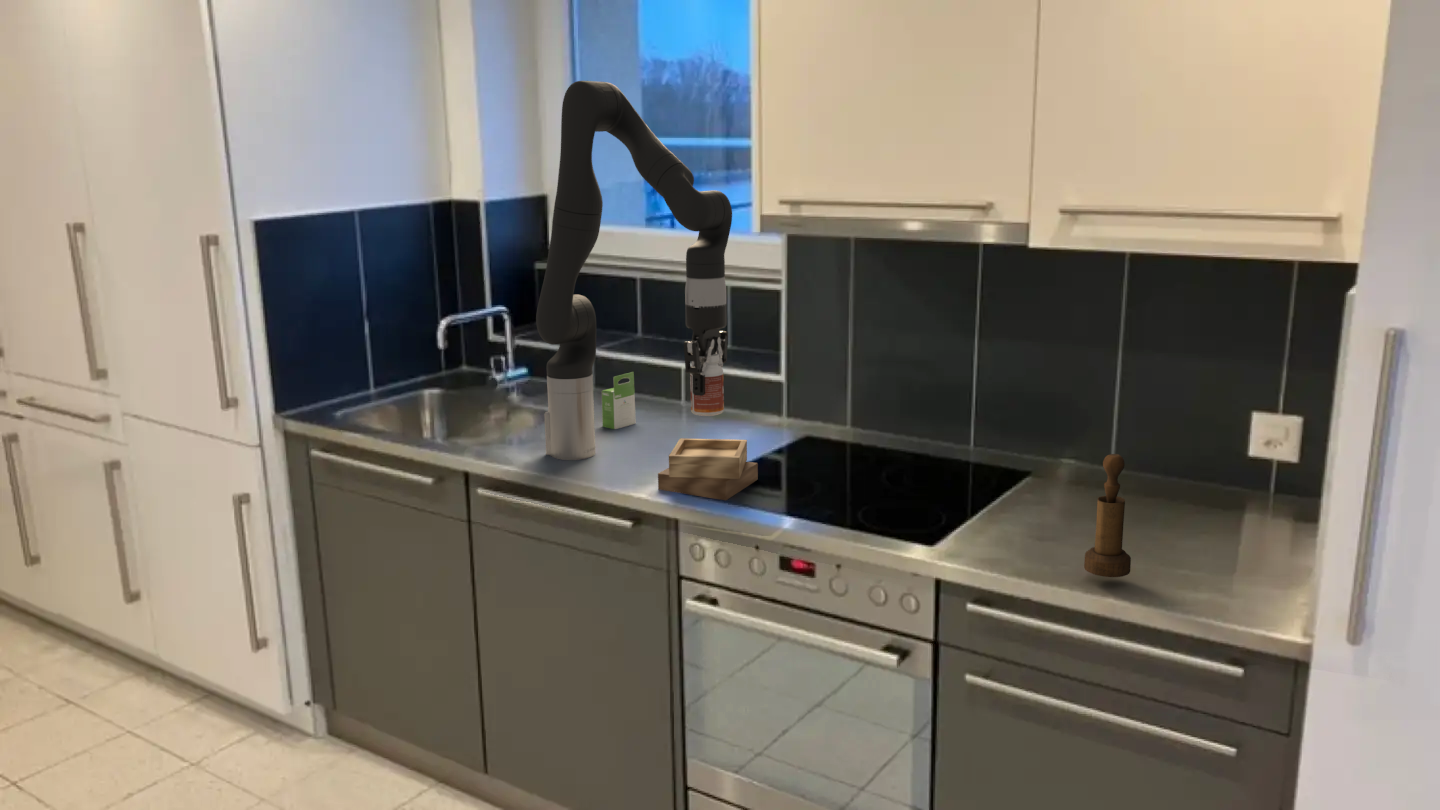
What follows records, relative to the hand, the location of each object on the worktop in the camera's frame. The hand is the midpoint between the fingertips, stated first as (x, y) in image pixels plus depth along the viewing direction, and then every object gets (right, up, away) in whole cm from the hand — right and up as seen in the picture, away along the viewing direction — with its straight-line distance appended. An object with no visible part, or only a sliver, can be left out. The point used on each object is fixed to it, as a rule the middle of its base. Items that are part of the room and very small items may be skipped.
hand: (707, 391), depth 222 cm
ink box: (-20, -9, +46) cm, 51 cm away
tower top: (0, -14, +3) cm, 15 cm away
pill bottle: (0, -4, +1) cm, 4 cm away
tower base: (0, -18, +4) cm, 19 cm away
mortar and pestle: (+61, -28, -42) cm, 79 cm away
